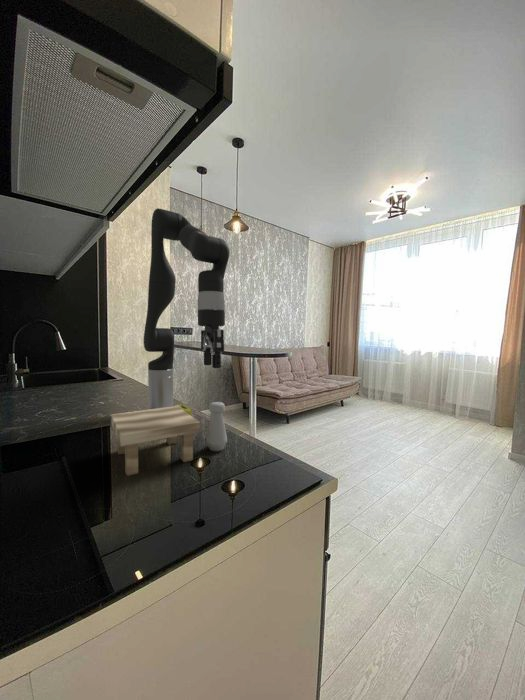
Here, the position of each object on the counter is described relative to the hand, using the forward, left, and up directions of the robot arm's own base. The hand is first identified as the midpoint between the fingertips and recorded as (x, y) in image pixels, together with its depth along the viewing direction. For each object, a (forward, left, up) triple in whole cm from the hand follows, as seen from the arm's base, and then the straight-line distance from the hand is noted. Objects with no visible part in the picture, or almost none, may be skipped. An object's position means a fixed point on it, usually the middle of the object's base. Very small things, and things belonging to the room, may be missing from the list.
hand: (212, 366), depth 83 cm
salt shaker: (+3, 0, -23) cm, 23 cm away
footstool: (-1, -16, -23) cm, 28 cm away
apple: (-17, -4, -23) cm, 29 cm away
